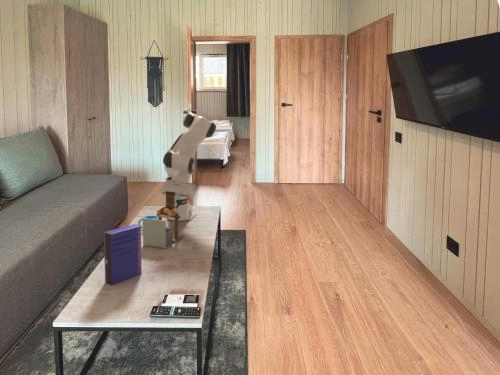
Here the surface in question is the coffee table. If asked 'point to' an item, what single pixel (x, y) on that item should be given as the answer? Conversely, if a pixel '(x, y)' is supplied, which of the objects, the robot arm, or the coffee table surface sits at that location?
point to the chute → (168, 206)
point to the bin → (156, 233)
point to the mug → (148, 218)
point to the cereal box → (122, 253)
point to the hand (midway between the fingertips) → (172, 201)
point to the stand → (176, 236)
